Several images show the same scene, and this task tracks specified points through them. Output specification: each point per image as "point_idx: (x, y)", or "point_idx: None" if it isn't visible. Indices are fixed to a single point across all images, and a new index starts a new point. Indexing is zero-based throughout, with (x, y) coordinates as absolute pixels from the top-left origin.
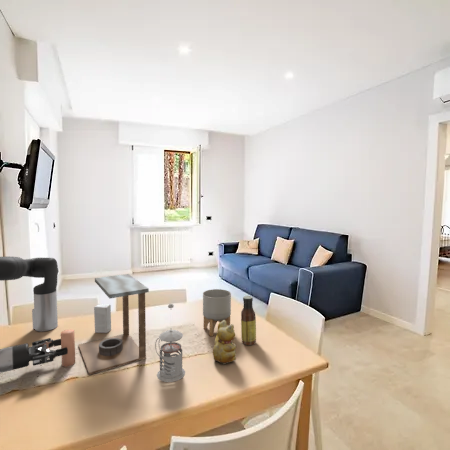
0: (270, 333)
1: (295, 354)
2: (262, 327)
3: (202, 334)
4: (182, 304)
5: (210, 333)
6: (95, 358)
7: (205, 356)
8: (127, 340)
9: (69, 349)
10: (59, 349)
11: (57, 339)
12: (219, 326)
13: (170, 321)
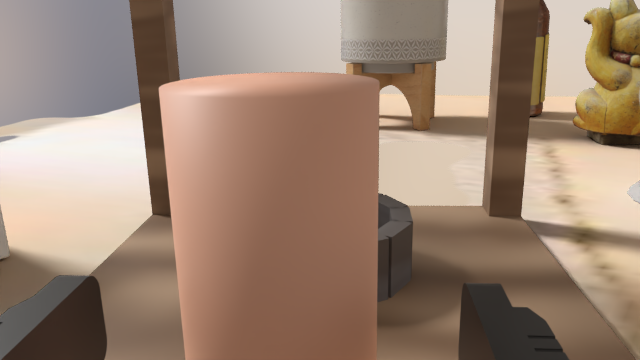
0: (485, 99)
1: None
2: (440, 99)
3: (394, 133)
4: (96, 121)
5: (423, 119)
6: (397, 337)
7: (573, 150)
8: None
9: (376, 330)
10: (517, 340)
11: (3, 326)
12: (610, 19)
13: None
